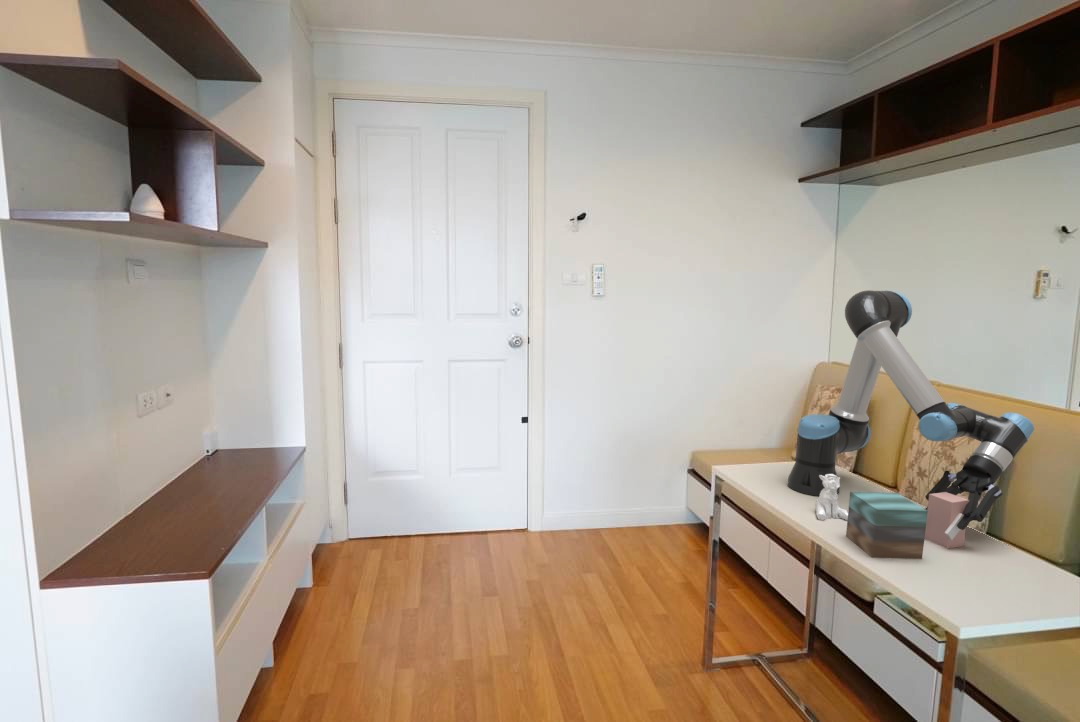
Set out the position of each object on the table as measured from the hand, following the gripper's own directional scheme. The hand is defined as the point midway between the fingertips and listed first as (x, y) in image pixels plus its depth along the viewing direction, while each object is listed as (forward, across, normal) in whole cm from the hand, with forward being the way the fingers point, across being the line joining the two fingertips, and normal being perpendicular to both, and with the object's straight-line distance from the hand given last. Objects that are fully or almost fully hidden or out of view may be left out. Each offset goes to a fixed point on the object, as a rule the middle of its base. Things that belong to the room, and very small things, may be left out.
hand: (935, 530), depth 146 cm
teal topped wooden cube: (+13, +2, +8) cm, 15 cm away
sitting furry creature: (+11, +23, +6) cm, 26 cm away
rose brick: (0, 0, -5) cm, 5 cm away
